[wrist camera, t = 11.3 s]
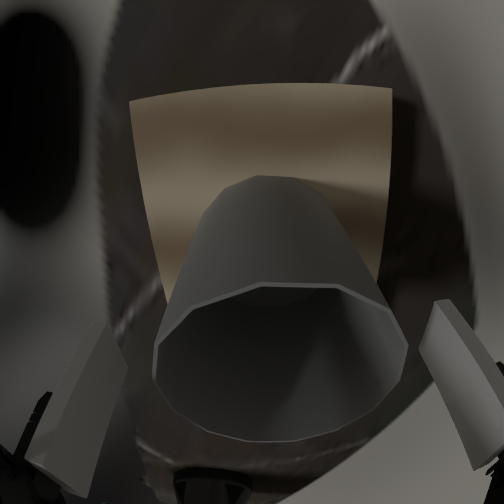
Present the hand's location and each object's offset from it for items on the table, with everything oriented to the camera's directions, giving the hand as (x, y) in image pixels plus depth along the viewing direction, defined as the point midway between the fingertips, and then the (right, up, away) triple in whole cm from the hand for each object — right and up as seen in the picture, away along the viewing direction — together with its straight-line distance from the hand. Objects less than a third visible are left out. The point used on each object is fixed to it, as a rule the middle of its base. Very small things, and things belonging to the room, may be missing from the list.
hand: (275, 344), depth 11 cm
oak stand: (0, +6, +10) cm, 12 cm away
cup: (0, +4, +7) cm, 8 cm away
